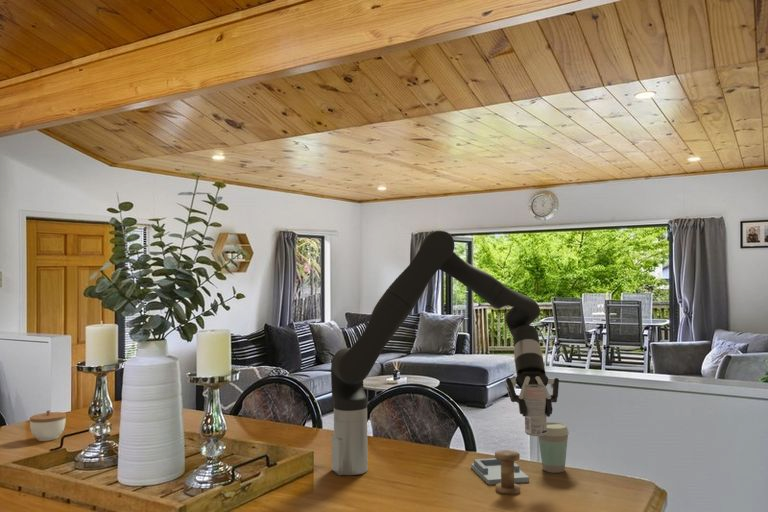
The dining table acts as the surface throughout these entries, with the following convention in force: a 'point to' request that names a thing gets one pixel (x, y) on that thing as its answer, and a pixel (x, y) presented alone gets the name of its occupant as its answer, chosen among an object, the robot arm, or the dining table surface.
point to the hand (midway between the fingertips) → (536, 414)
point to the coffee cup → (554, 447)
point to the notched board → (495, 471)
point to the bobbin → (507, 472)
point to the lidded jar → (47, 425)
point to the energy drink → (535, 410)
